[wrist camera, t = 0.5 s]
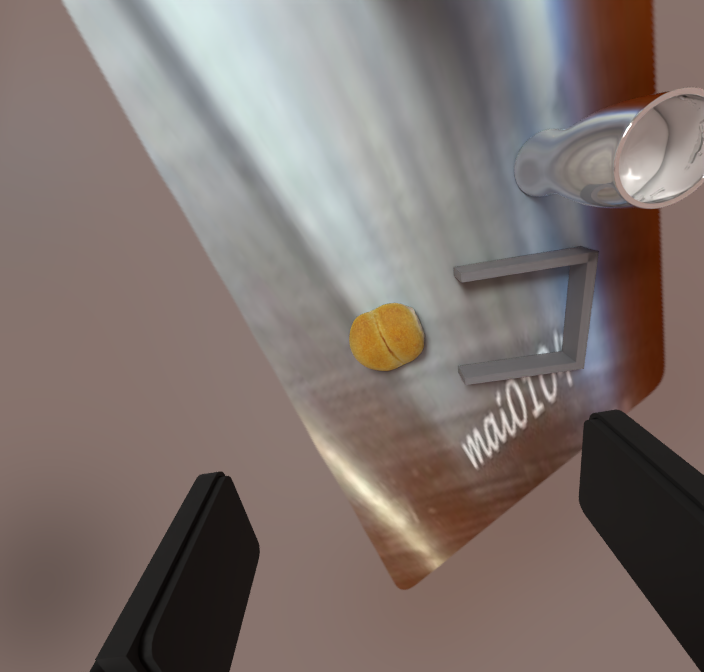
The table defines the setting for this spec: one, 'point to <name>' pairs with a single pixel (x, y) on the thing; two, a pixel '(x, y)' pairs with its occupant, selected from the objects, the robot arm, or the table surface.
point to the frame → (575, 315)
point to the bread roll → (387, 337)
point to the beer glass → (621, 154)
